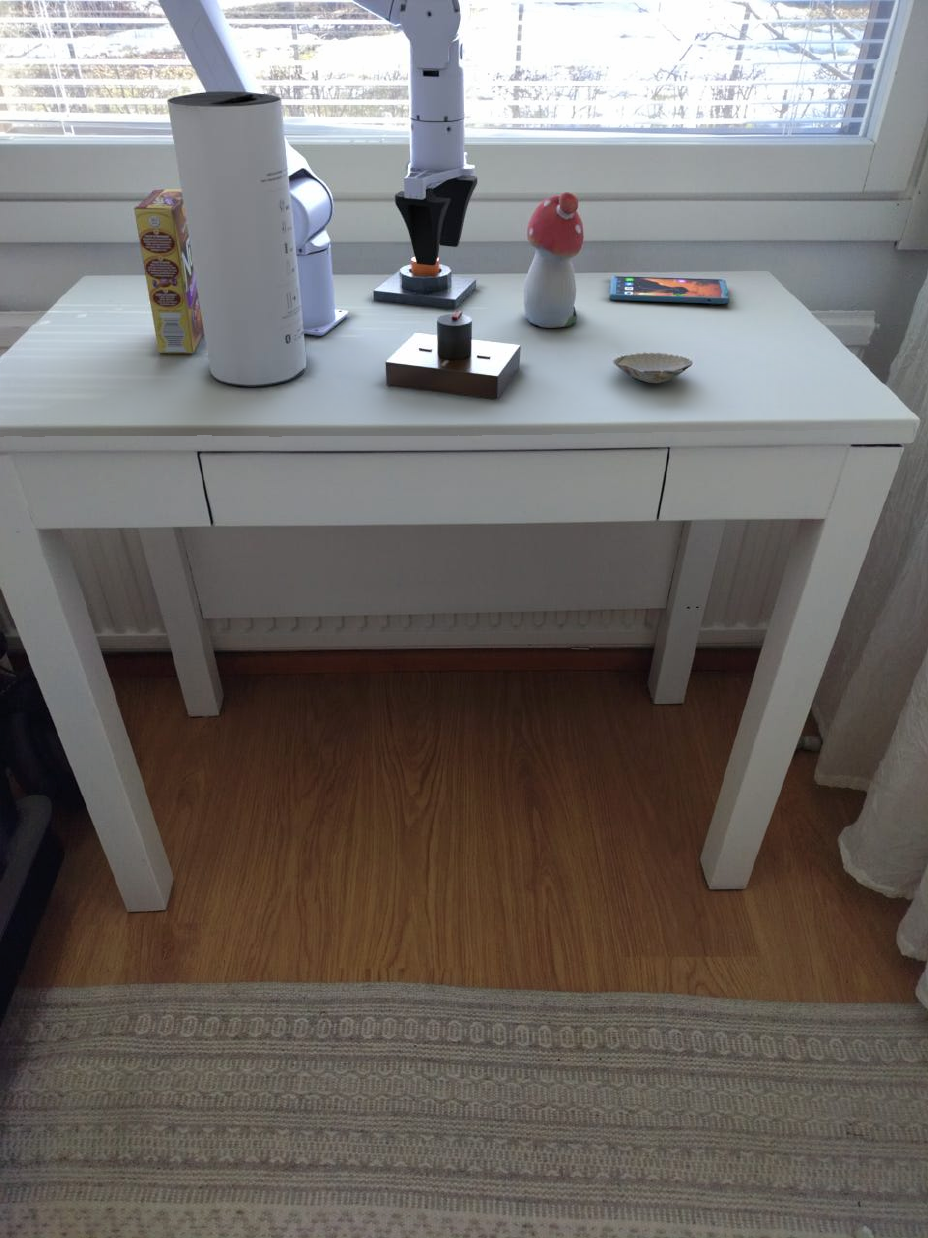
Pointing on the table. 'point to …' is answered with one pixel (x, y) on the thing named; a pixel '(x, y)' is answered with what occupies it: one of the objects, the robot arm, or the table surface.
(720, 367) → the table surface
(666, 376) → the seashell
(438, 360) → the dial panel
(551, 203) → the decorative ornament
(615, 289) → the smartphone
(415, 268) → the switch
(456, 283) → the switch base
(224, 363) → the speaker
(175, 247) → the candy box
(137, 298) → the table surface
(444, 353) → the dial
